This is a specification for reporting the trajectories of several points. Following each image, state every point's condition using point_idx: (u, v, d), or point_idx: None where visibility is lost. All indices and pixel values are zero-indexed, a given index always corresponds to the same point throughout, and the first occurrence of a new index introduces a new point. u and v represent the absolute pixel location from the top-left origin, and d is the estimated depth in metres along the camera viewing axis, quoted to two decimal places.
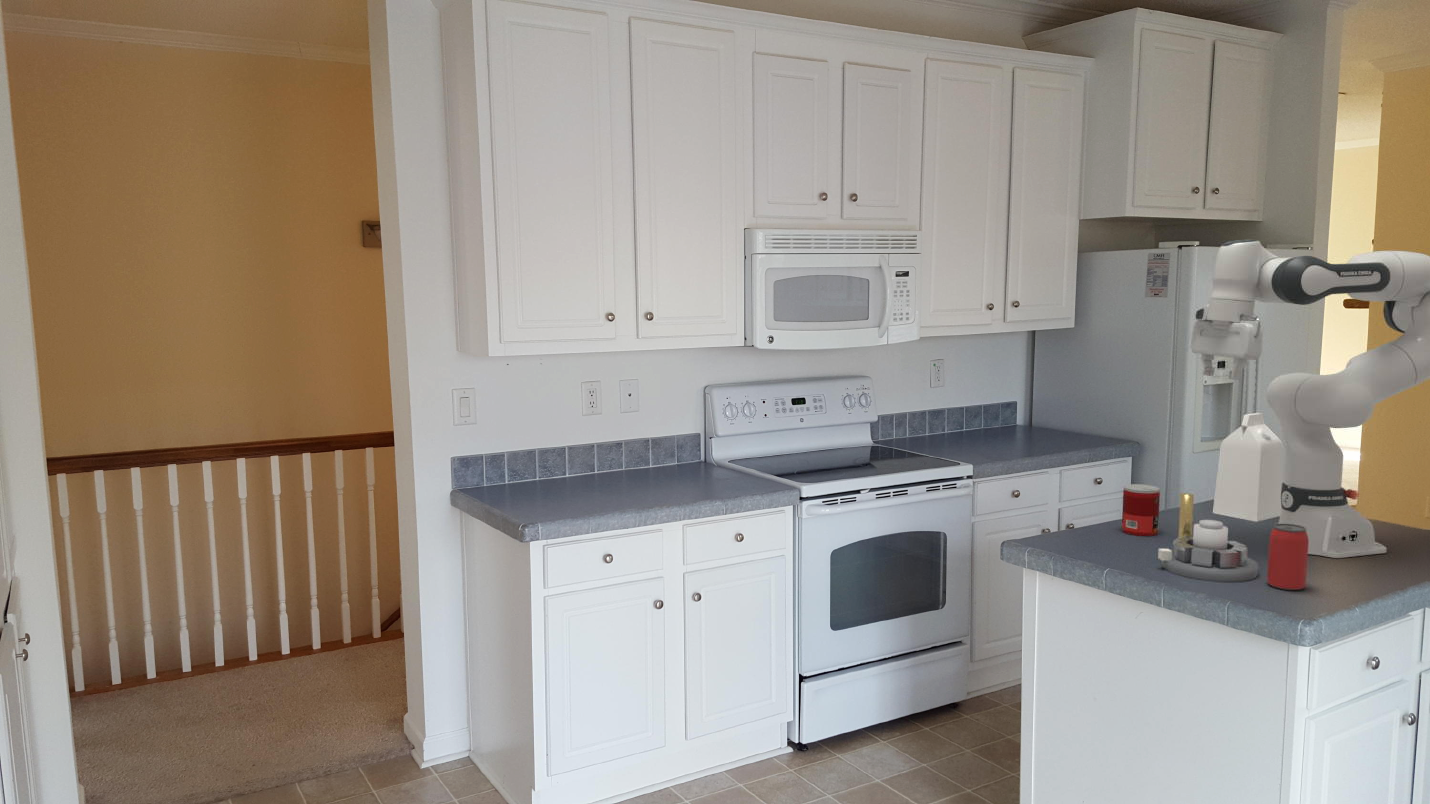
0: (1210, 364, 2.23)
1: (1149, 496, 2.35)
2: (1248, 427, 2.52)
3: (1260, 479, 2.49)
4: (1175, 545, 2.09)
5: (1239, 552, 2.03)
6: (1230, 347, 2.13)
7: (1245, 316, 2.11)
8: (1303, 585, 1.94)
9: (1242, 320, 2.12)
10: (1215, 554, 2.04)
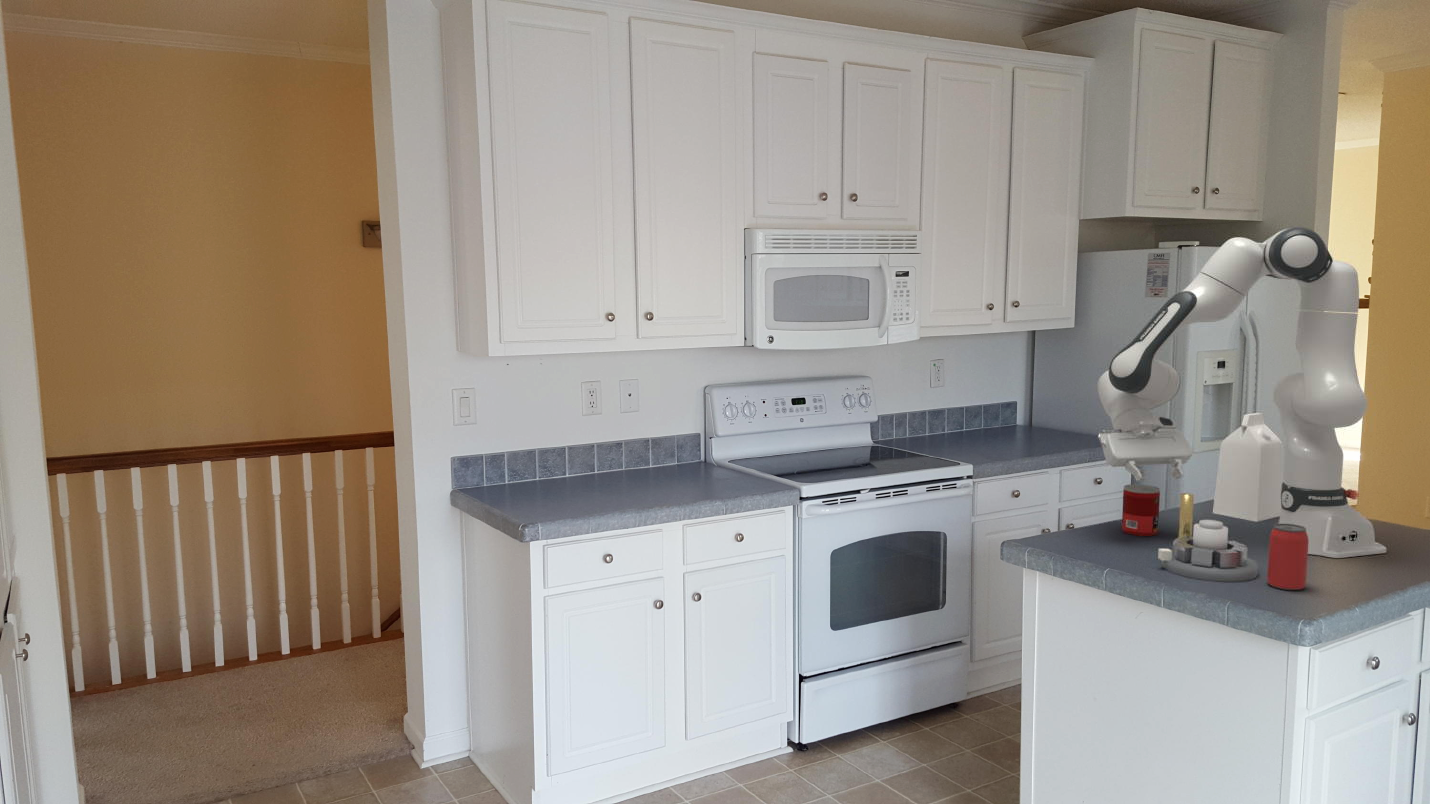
0: (1177, 467, 2.28)
1: (1149, 496, 2.35)
2: (1248, 427, 2.52)
3: (1260, 479, 2.49)
4: (1175, 545, 2.09)
5: (1239, 552, 2.03)
6: None
7: None
8: (1303, 585, 1.94)
9: None
10: (1215, 554, 2.04)
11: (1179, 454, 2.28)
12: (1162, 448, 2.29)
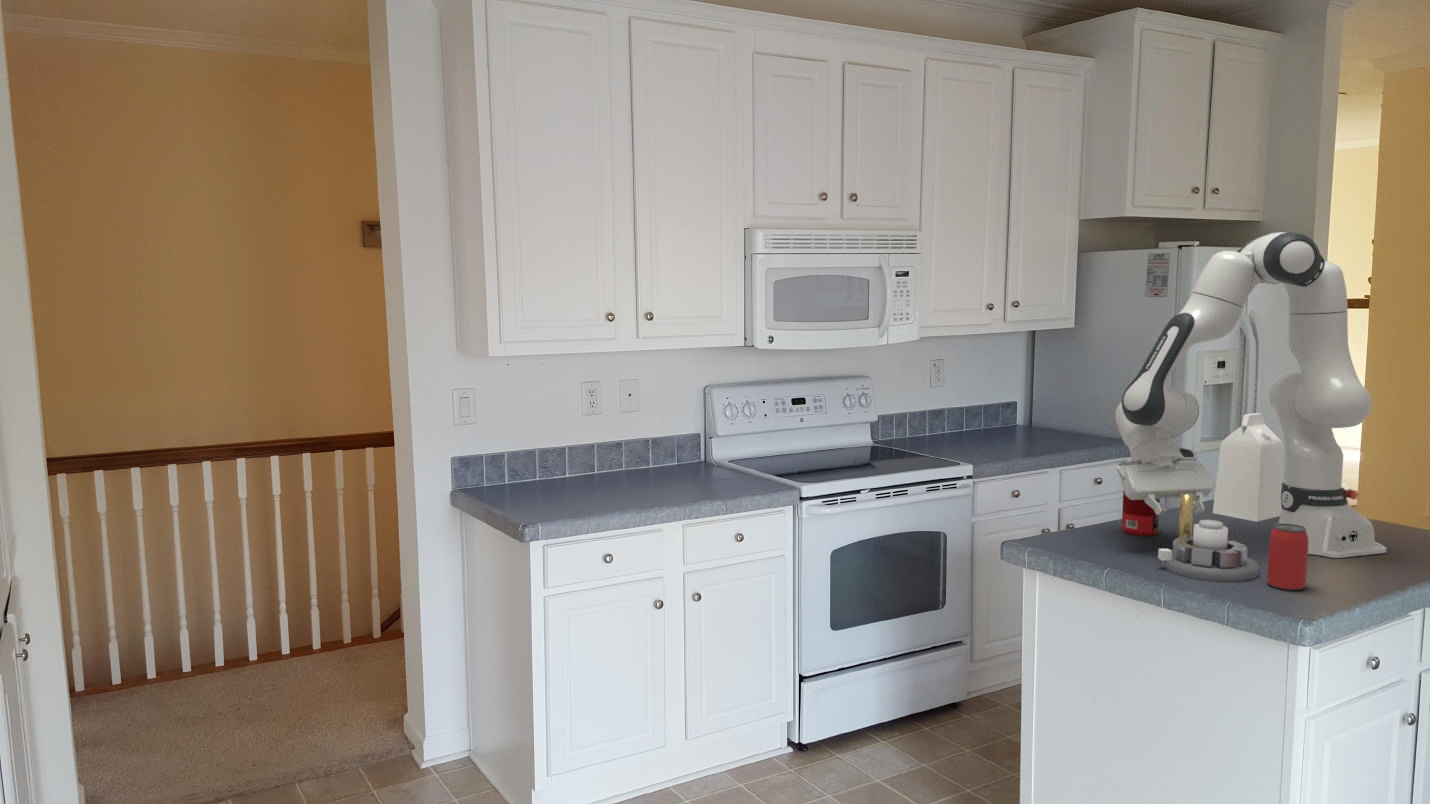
0: (1198, 500, 2.21)
1: None
2: (1248, 427, 2.52)
3: (1260, 479, 2.49)
4: (1175, 545, 2.09)
5: (1239, 552, 2.03)
6: None
7: None
8: (1303, 585, 1.94)
9: None
10: (1215, 554, 2.04)
11: (1201, 487, 2.21)
12: (1183, 480, 2.22)
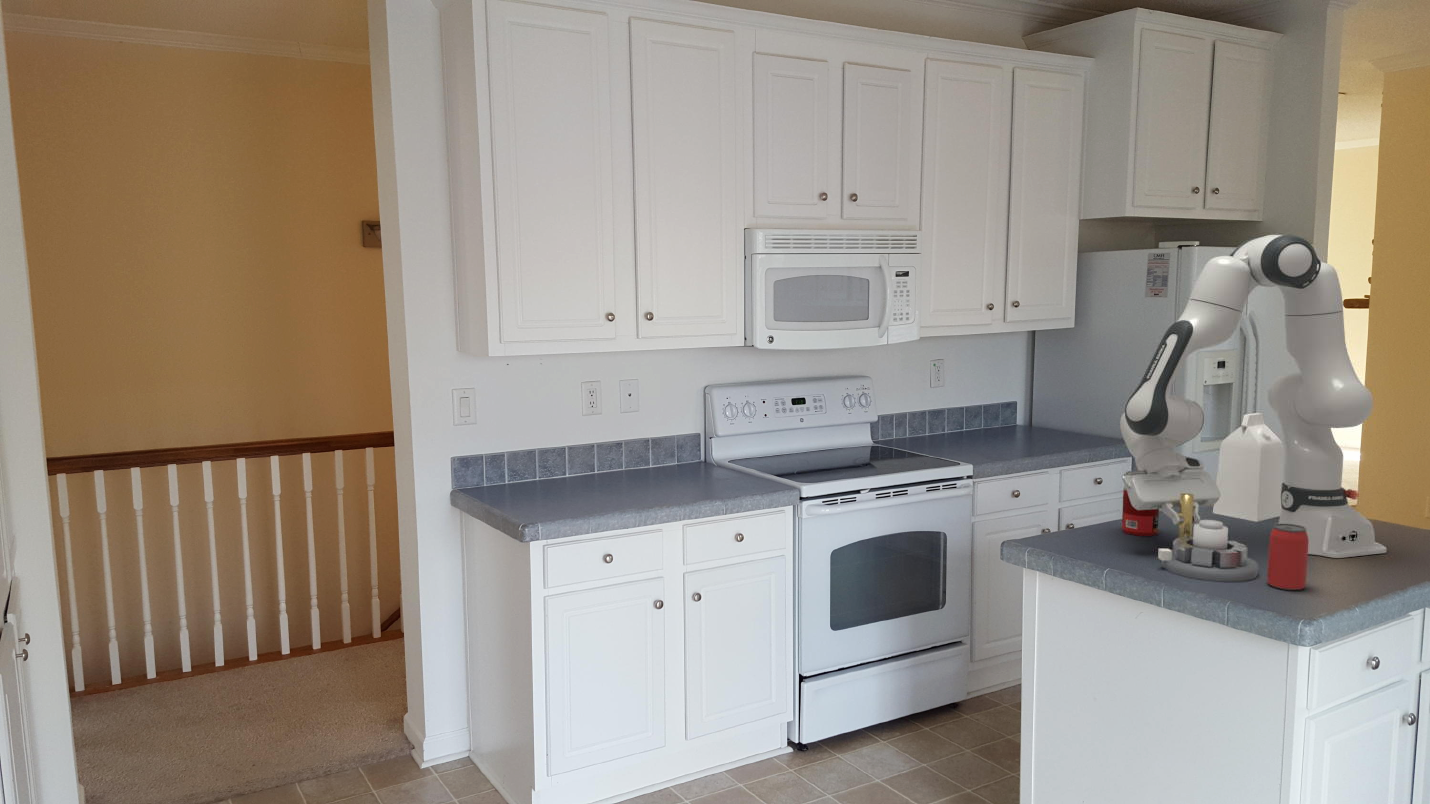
0: (1194, 510, 2.18)
1: None
2: (1248, 427, 2.52)
3: (1260, 479, 2.49)
4: (1175, 545, 2.09)
5: (1239, 552, 2.03)
6: None
7: None
8: (1303, 585, 1.94)
9: None
10: (1215, 554, 2.04)
11: (1207, 496, 2.20)
12: (1189, 490, 2.20)
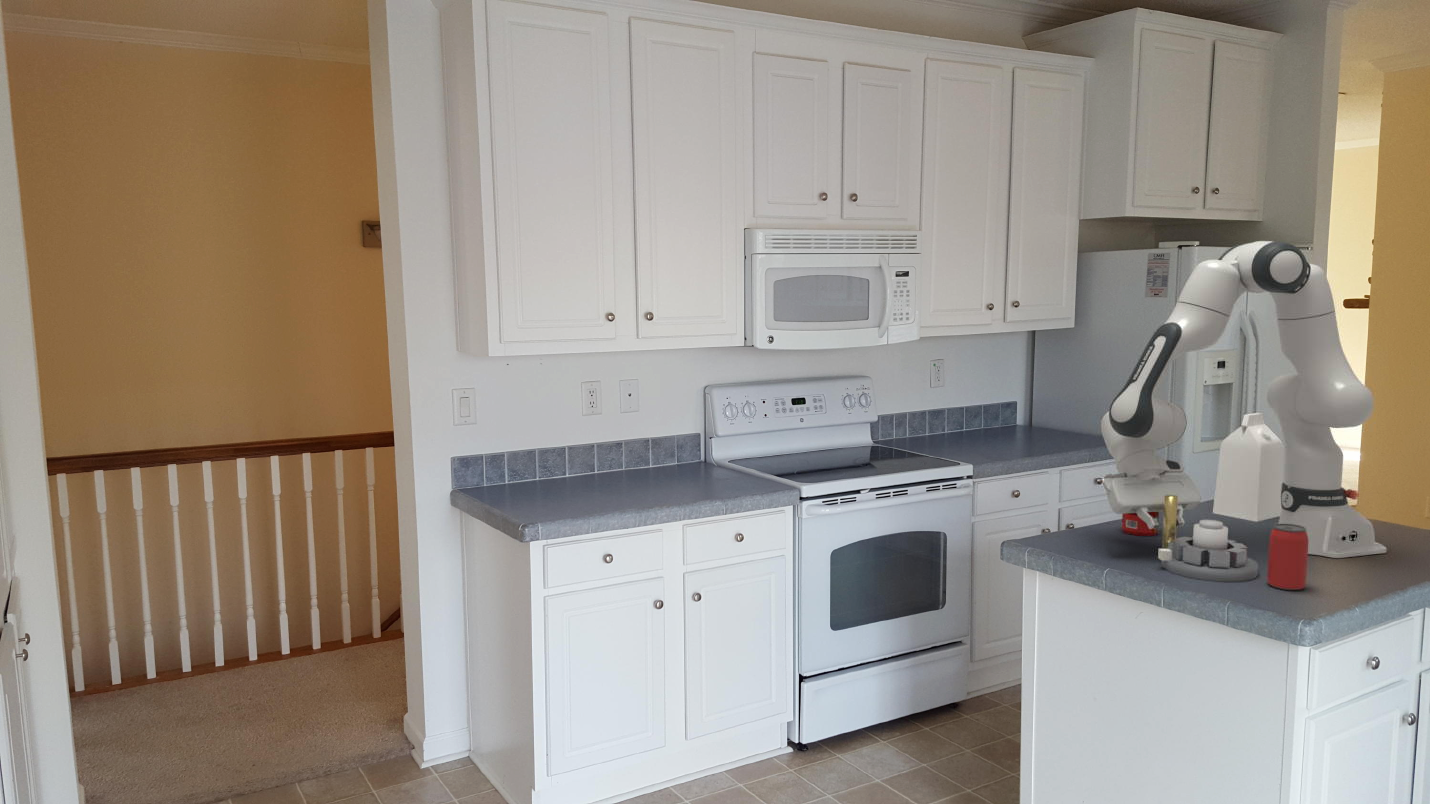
0: (1178, 514, 2.16)
1: None
2: (1248, 427, 2.52)
3: (1260, 479, 2.49)
4: (1185, 549, 2.06)
5: (1243, 549, 2.06)
6: None
7: None
8: (1303, 585, 1.94)
9: None
10: None
11: (1187, 500, 2.18)
12: (1169, 493, 2.18)
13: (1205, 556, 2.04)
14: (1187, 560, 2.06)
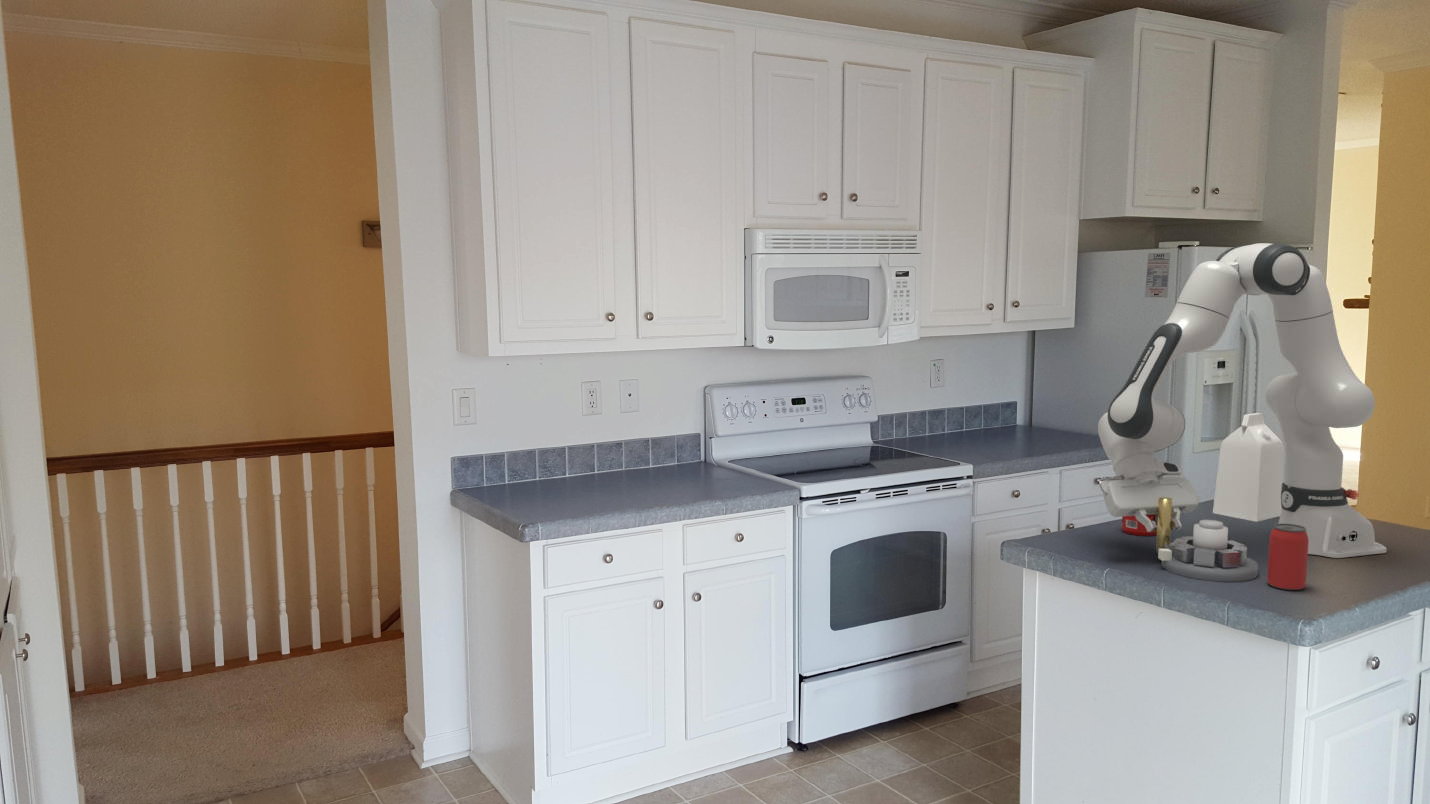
0: (1175, 517, 2.13)
1: None
2: (1248, 427, 2.52)
3: (1260, 479, 2.49)
4: (1196, 552, 2.04)
5: None
6: None
7: None
8: (1303, 585, 1.94)
9: None
10: None
11: (1185, 502, 2.15)
12: (1167, 496, 2.15)
13: (1215, 557, 2.04)
14: (1199, 563, 2.04)
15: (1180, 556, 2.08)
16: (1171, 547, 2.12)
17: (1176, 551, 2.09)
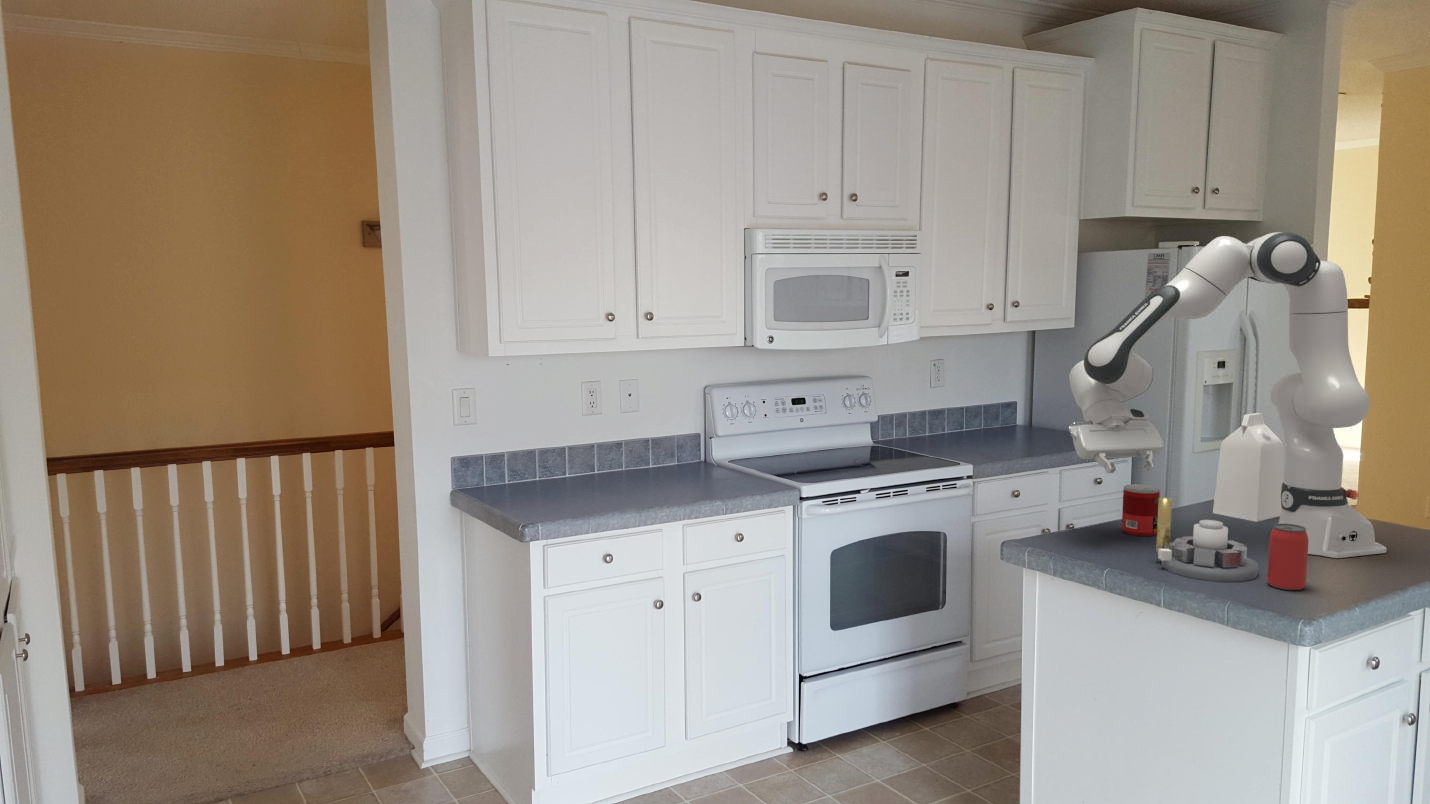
0: (1148, 459, 2.25)
1: (1149, 496, 2.35)
2: (1248, 427, 2.52)
3: (1260, 479, 2.49)
4: (1196, 552, 2.04)
5: None
6: None
7: None
8: (1303, 585, 1.94)
9: None
10: None
11: (1150, 445, 2.26)
12: (1133, 439, 2.26)
13: (1215, 557, 2.04)
14: (1199, 563, 2.04)
15: (1180, 556, 2.08)
16: (1171, 547, 2.12)
17: (1176, 551, 2.09)
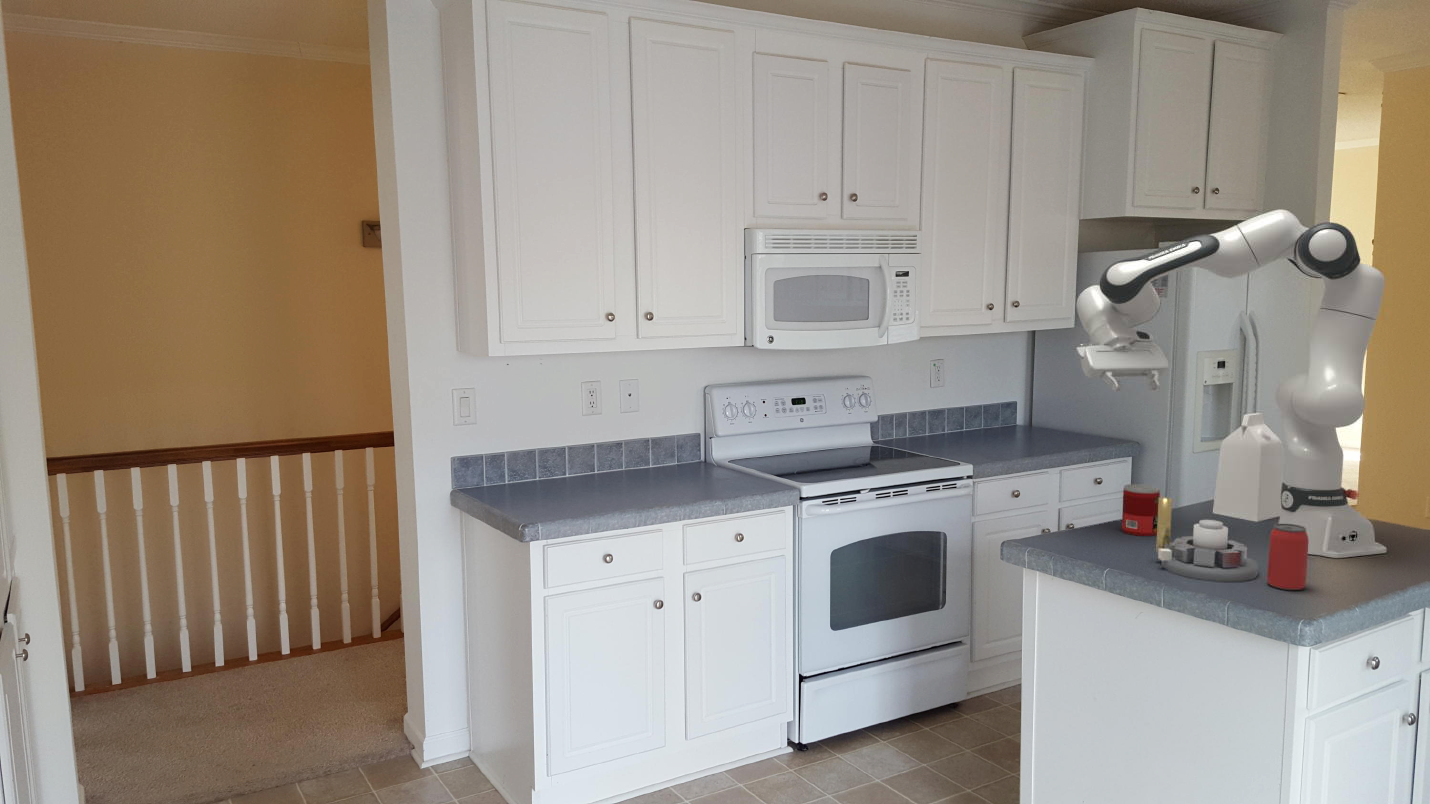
0: (1153, 378, 2.31)
1: (1149, 496, 2.35)
2: (1248, 427, 2.52)
3: (1260, 479, 2.49)
4: (1196, 552, 2.04)
5: None
6: None
7: None
8: (1303, 585, 1.94)
9: None
10: None
11: (1156, 366, 2.32)
12: (1139, 360, 2.32)
13: (1215, 557, 2.04)
14: (1199, 563, 2.04)
15: (1180, 556, 2.08)
16: (1171, 547, 2.12)
17: (1176, 551, 2.09)
